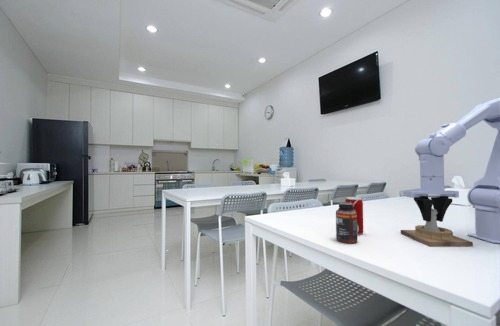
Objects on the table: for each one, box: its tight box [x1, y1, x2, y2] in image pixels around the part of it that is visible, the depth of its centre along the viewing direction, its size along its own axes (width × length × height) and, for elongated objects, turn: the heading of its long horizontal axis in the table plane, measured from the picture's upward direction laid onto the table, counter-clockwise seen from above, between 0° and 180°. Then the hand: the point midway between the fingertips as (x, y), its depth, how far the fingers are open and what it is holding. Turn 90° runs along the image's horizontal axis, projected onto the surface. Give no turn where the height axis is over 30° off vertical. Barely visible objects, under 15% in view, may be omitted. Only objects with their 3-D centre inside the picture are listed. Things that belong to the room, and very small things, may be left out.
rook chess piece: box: [423, 208, 440, 232], centre depth 68 cm, size 4×4×8 cm
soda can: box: [344, 196, 364, 236], centre depth 75 cm, size 6×6×12 cm
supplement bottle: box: [335, 201, 358, 244], centre depth 67 cm, size 6×6×11 cm
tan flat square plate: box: [400, 224, 473, 247], centre depth 68 cm, size 12×12×3 cm
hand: (432, 220), depth 68 cm, fingers closed on rook chess piece, 3 cm apart
